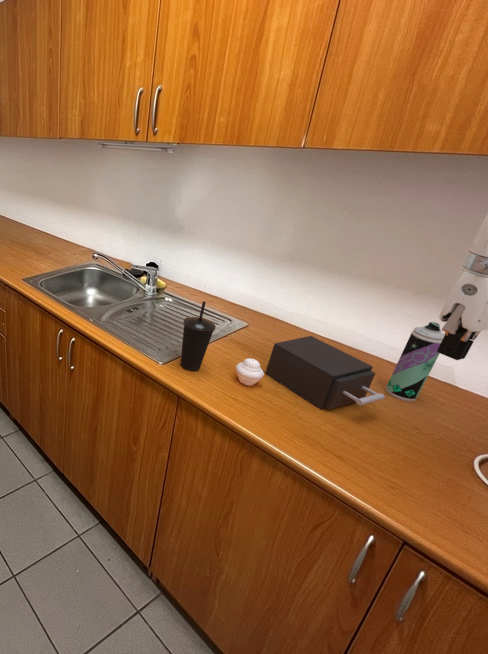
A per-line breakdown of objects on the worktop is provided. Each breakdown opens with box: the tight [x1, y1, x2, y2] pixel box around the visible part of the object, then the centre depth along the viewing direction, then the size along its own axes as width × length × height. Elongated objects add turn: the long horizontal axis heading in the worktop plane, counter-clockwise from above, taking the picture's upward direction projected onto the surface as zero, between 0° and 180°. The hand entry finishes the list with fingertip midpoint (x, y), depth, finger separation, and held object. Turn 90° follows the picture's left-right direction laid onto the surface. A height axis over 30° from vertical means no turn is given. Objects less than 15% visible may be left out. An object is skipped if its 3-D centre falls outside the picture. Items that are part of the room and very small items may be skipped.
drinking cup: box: [180, 301, 217, 372], centre depth 106 cm, size 8×8×20 cm
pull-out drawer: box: [324, 370, 386, 410], centre depth 96 cm, size 18×11×8 cm, turn 16°
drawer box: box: [264, 335, 374, 410], centre depth 99 cm, size 15×13×10 cm
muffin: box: [235, 357, 265, 387], centre depth 102 cm, size 6×6×7 cm
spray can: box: [385, 321, 445, 402], centre depth 94 cm, size 6×6×20 cm
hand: (450, 355), depth 75 cm, fingers closed
